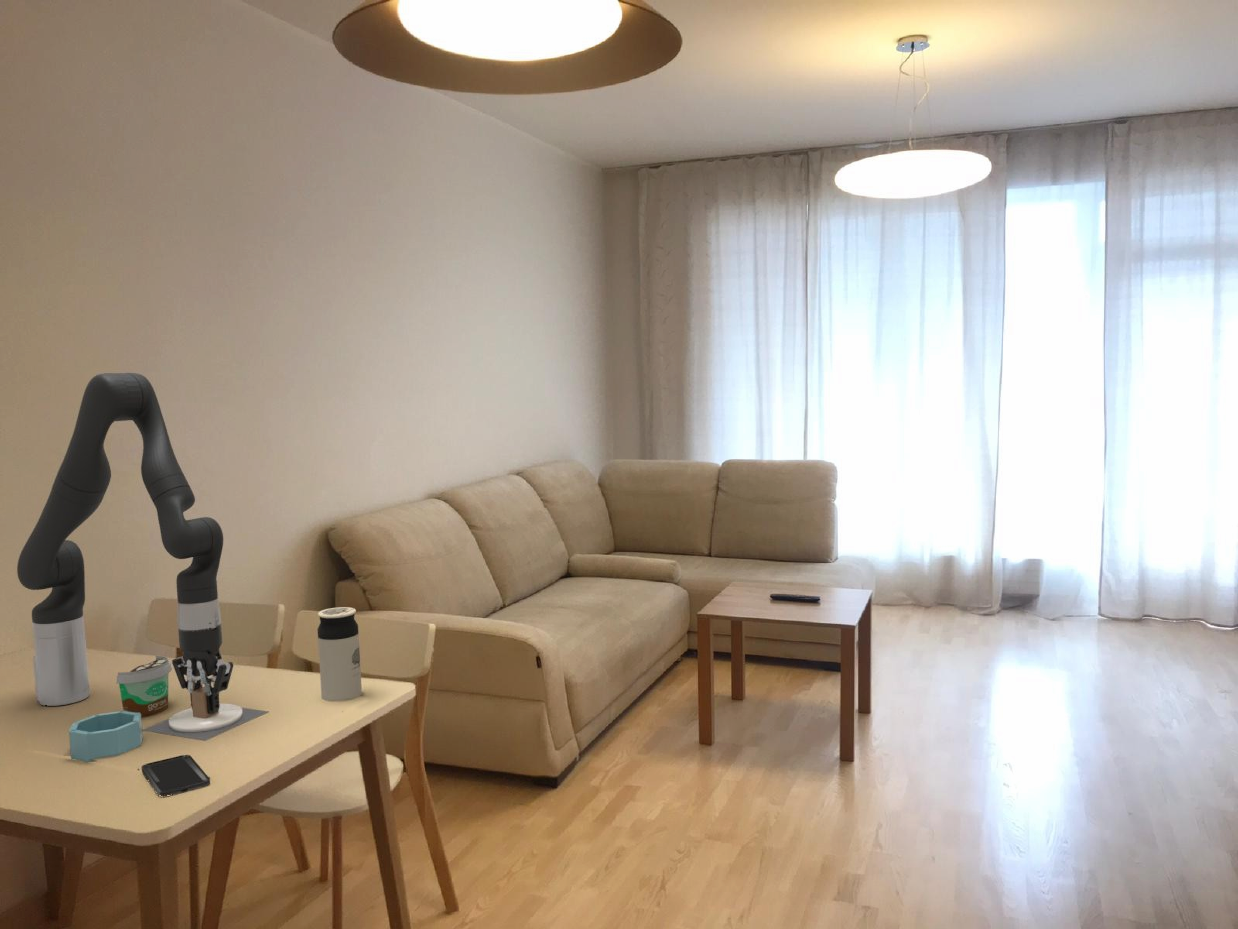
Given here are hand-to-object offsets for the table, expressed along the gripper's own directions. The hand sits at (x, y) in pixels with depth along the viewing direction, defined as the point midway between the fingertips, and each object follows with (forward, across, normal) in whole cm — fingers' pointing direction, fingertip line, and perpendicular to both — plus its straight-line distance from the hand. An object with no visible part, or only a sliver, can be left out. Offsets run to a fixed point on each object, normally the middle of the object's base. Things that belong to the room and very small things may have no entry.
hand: (205, 711), depth 187 cm
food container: (+3, -15, +1) cm, 15 cm away
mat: (+2, 0, 0) cm, 2 cm away
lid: (+2, 0, 0) cm, 2 cm away
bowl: (+2, -7, -16) cm, 18 cm away
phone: (+3, +15, -21) cm, 26 cm away
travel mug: (+3, +15, +21) cm, 26 cm away
